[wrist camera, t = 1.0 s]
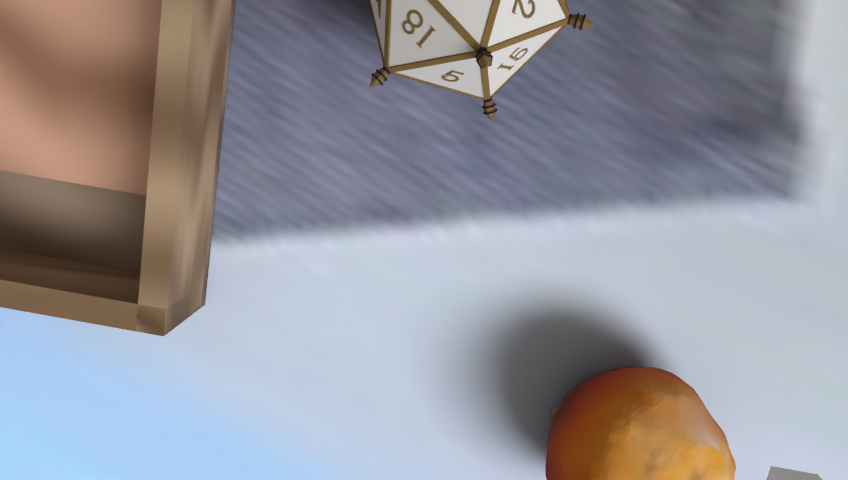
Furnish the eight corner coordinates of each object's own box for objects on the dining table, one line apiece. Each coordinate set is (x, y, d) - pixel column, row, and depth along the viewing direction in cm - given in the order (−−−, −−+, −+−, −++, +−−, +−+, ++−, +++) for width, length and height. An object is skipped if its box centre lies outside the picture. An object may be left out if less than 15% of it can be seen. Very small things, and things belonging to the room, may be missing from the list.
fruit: (479, 401, 30) (594, 452, 23) (600, 329, 34) (735, 354, 26) (531, 547, 32) (656, 638, 25) (643, 464, 35) (783, 523, 28)
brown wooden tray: (-115, -149, 28) (-220, -197, 24) (245, -89, 28) (205, -126, 24) (-114, 248, 32) (-205, 270, 28) (204, 304, 32) (163, 336, 27)
